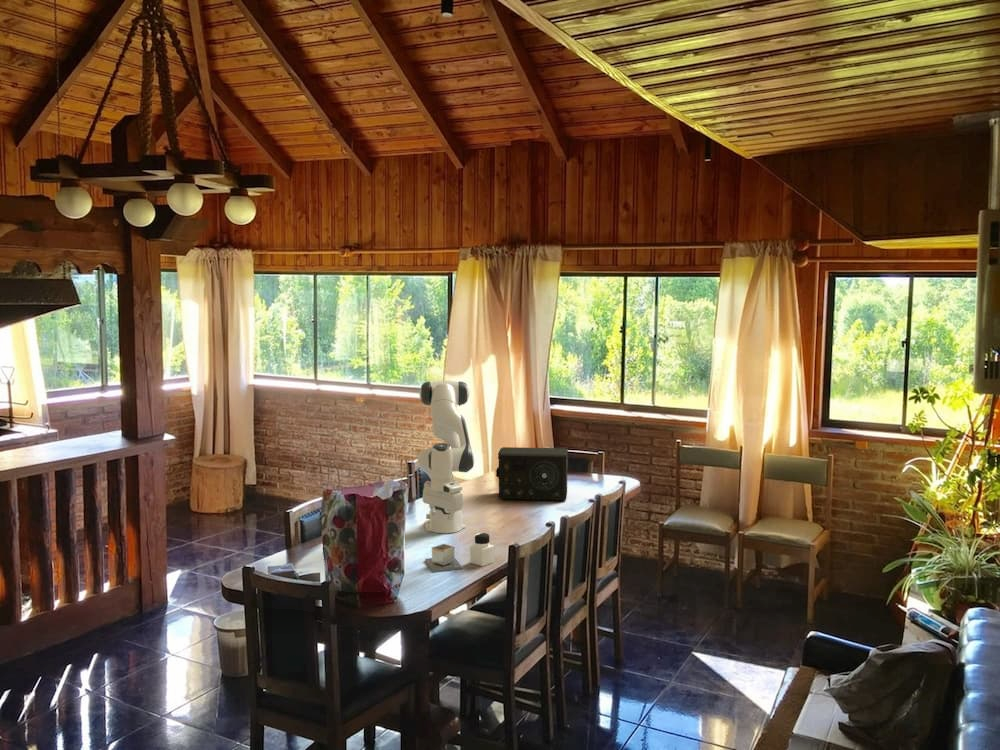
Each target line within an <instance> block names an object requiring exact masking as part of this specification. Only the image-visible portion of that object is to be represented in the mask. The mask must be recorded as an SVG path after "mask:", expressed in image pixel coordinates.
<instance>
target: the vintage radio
mask: <svg viewBox="0 0 1000 750" xmlns="http://www.w3.org/2000/svg"><path fill="white" fill-rule="evenodd" d="M568 455H569V450H568V448H565V447H560V448H557V447H517V446H515V447H513V446H512V447H510V446H509V447H508V446H507V447H506V446H505V447H504V446H503V447H500V449H499V451H498V454H497V459H498V467H497V468H496V470H495V473H496V474H495V476H496V477H497V479H498V498H499V499H501V500H503V501H508V500H536V501H537V500H539V501H541V500H543V501H557V502H563V501H566V500H567V495H568V469H569V463H568V462H569V456H568Z"/></svg>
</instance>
